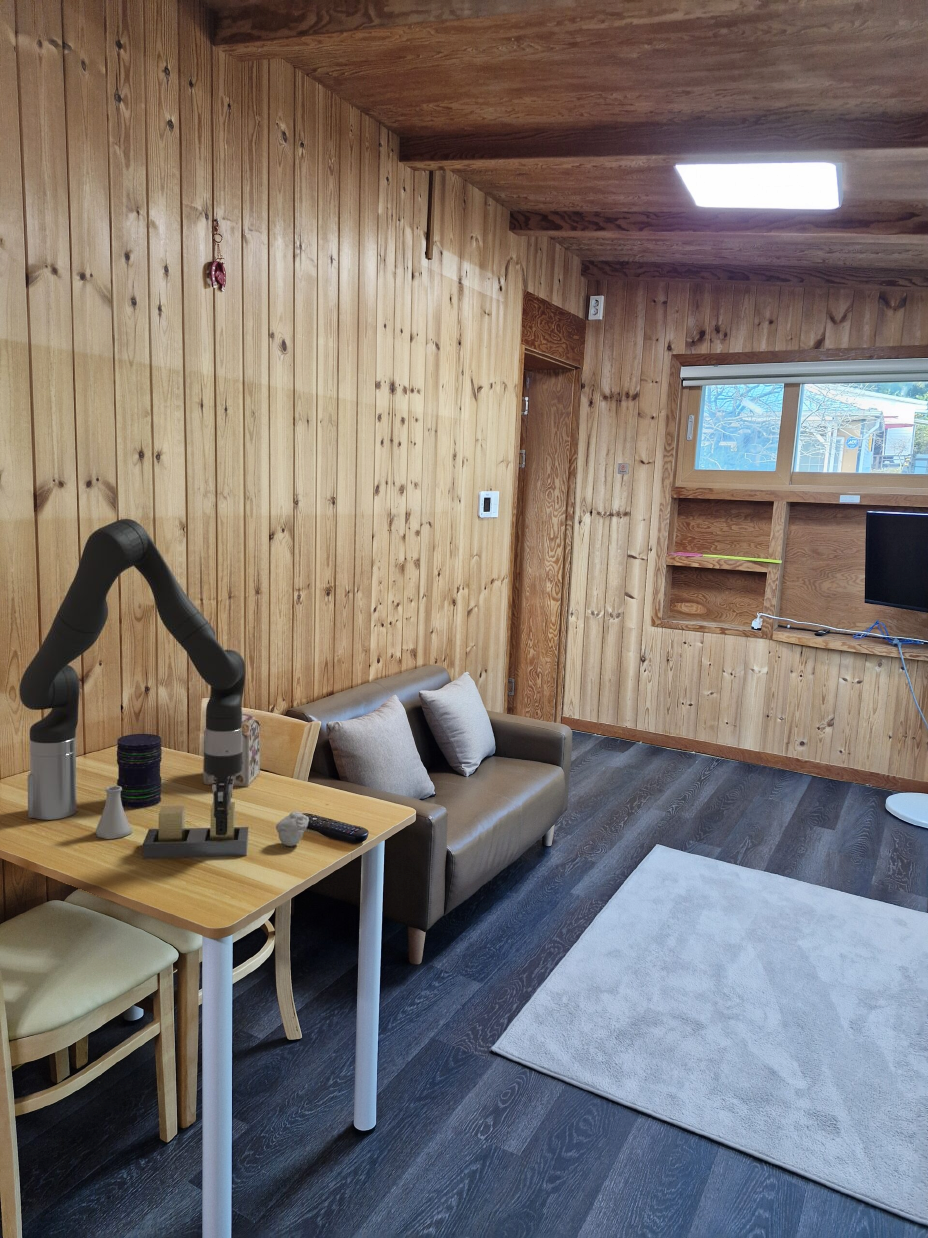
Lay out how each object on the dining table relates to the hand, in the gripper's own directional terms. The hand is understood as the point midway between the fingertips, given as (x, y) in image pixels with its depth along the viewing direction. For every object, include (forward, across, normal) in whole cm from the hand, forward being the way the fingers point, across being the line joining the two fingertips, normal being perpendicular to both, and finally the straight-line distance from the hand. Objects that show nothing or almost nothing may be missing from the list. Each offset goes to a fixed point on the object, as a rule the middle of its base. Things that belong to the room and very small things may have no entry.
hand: (222, 829), depth 184 cm
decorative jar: (+4, +46, +1) cm, 46 cm away
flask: (+4, +10, +23) cm, 25 cm away
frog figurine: (+4, +1, -14) cm, 15 cm away
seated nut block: (+4, 0, +10) cm, 11 cm away
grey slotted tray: (+4, 0, +5) cm, 7 cm away
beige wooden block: (+3, 0, 0) cm, 3 cm away
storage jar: (+4, +30, +21) cm, 37 cm away
